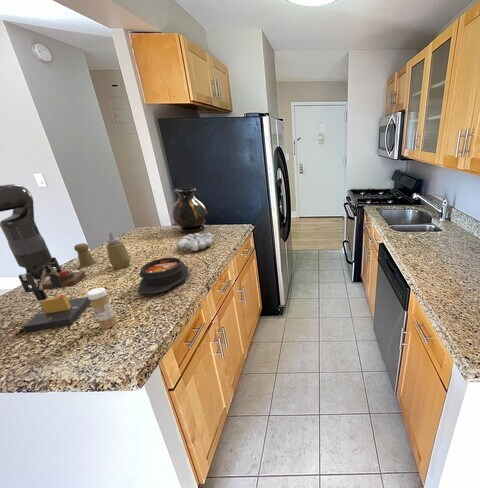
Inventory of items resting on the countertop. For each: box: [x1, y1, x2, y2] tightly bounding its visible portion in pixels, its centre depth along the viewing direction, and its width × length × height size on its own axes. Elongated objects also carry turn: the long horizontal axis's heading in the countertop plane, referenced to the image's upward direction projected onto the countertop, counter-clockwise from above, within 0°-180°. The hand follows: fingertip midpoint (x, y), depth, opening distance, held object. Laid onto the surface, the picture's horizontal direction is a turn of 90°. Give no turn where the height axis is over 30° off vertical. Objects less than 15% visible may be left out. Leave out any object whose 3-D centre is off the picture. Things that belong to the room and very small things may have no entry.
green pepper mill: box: [73, 242, 97, 268], centre depth 128 cm, size 6×6×11 cm
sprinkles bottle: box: [86, 287, 118, 330], centre depth 85 cm, size 5×5×13 cm
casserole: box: [137, 257, 190, 295], centre depth 112 cm, size 25×19×8 cm
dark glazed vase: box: [171, 187, 209, 234], centre depth 175 cm, size 22×22×28 cm
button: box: [59, 269, 68, 276], centre depth 112 cm, size 4×4×2 cm
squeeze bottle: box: [106, 231, 131, 270], centre depth 124 cm, size 8×8×18 cm
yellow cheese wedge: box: [39, 294, 71, 313], centre depth 90 cm, size 6×2×5 cm, turn 109°
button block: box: [42, 270, 86, 290], centre depth 113 cm, size 11×9×4 cm
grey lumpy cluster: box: [175, 232, 215, 252], centre depth 151 cm, size 22×21×6 cm
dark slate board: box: [22, 296, 91, 334], centre depth 91 cm, size 12×14×3 cm
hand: (50, 292), depth 88 cm, fingers open, 8 cm apart
